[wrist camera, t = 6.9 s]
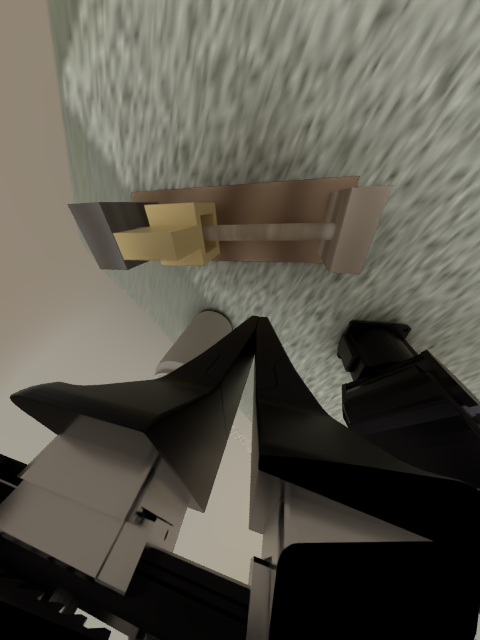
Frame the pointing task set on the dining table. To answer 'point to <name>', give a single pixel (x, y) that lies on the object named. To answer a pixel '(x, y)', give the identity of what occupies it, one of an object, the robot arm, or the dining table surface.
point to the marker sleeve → (172, 235)
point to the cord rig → (256, 221)
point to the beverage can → (194, 341)
